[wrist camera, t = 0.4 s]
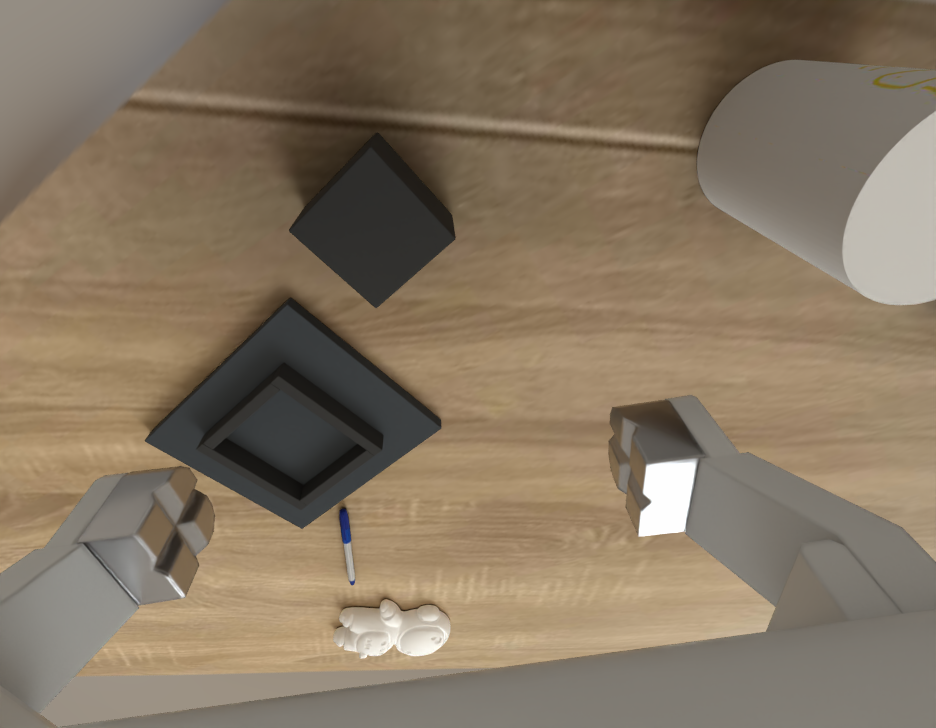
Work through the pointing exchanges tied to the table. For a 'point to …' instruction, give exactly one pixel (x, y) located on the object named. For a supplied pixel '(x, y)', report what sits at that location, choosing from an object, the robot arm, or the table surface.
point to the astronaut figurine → (392, 629)
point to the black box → (375, 223)
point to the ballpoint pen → (347, 544)
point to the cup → (833, 170)
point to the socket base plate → (294, 419)
